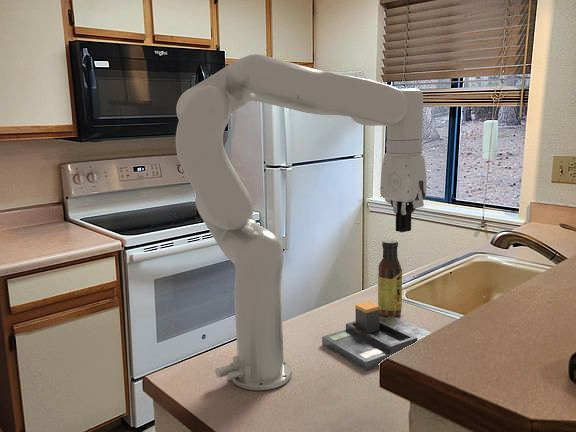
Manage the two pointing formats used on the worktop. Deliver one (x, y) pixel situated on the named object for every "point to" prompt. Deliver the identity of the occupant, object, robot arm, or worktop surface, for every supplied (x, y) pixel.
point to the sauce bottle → (390, 280)
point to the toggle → (367, 316)
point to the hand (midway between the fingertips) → (403, 230)
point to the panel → (373, 341)
